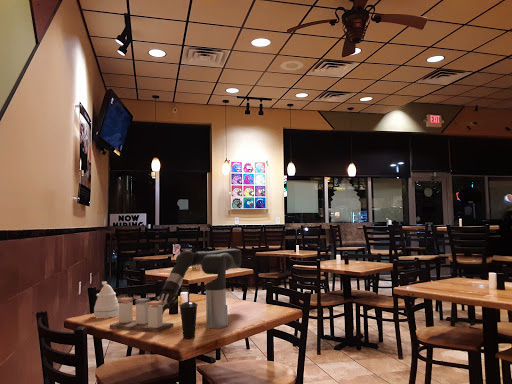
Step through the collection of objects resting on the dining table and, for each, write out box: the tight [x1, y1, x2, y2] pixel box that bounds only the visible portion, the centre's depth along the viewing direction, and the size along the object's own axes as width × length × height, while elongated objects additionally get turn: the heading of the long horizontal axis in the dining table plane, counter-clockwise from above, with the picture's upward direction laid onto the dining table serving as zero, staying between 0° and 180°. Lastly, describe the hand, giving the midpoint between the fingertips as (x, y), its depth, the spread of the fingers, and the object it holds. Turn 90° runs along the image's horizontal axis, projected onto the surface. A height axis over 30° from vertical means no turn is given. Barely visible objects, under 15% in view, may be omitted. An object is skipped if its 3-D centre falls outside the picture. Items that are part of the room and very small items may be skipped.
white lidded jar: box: [135, 297, 151, 324], centre depth 195 cm, size 5×4×11 cm
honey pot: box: [93, 281, 119, 319], centre depth 222 cm, size 13×13×18 cm
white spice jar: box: [117, 297, 134, 323], centre depth 199 cm, size 5×4×11 cm
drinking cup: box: [179, 289, 198, 340], centre depth 175 cm, size 8×8×20 cm
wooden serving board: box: [109, 319, 174, 333], centre depth 194 cm, size 28×11×2 cm, turn 68°
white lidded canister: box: [147, 300, 164, 328], centre depth 188 cm, size 5×4×11 cm
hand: (158, 315), depth 192 cm, fingers closed
